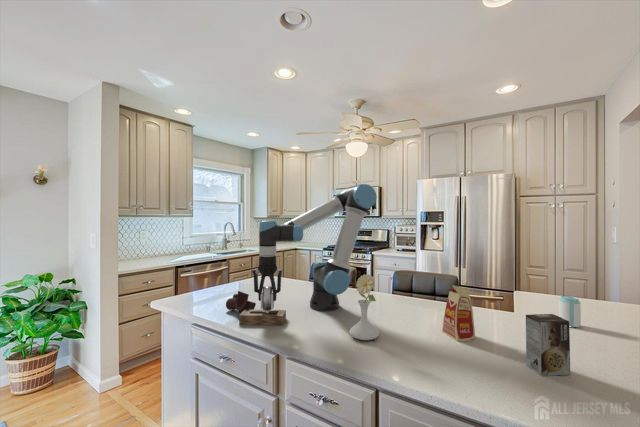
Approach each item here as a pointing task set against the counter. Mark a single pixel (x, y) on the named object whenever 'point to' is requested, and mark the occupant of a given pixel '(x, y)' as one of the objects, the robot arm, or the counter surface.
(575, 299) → the can
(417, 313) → the counter surface
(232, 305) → the dark brown lumpy piece
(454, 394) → the counter surface
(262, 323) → the keyhole block
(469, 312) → the milk carton
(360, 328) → the flower in vase
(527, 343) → the grey cardboard box
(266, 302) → the steel peg
